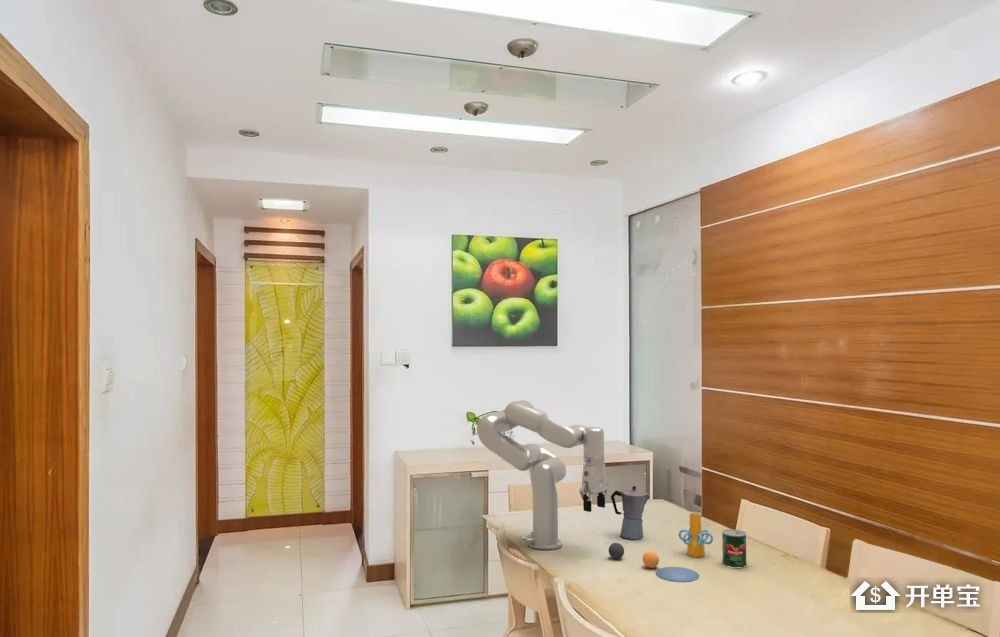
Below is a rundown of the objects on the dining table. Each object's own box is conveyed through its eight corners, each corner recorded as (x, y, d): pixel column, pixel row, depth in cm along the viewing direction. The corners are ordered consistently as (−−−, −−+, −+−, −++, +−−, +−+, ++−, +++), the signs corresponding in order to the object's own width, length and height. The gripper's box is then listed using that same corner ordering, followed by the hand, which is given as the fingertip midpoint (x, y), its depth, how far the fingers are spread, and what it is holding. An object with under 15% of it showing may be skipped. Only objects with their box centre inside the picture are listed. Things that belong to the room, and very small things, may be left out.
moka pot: (653, 540, 262) (652, 488, 263) (613, 540, 262) (612, 488, 263) (648, 533, 271) (647, 483, 272) (609, 533, 272) (609, 483, 272)
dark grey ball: (612, 561, 237) (612, 545, 237) (606, 556, 243) (605, 541, 243) (627, 560, 239) (626, 544, 239) (620, 555, 244) (619, 540, 244)
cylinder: (675, 556, 243) (675, 514, 243) (682, 548, 252) (681, 508, 252) (710, 561, 237) (709, 518, 237) (715, 553, 246) (715, 511, 247)
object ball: (647, 571, 228) (647, 554, 228) (639, 565, 233) (639, 549, 233) (662, 569, 229) (661, 553, 229) (654, 564, 234) (653, 548, 235)
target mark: (669, 584, 215) (669, 583, 215) (648, 569, 229) (648, 569, 229) (707, 579, 219) (707, 578, 219) (684, 565, 233) (684, 565, 233)
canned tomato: (731, 569, 229) (730, 536, 229) (718, 562, 237) (717, 530, 237) (751, 567, 231) (751, 534, 231) (737, 559, 239) (737, 528, 239)
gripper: (588, 465, 239) (588, 515, 239) (615, 459, 252) (616, 506, 252) (571, 463, 245) (571, 511, 244) (599, 456, 257) (599, 503, 257)
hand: (594, 508), depth 248 cm, fingers open, 7 cm apart
